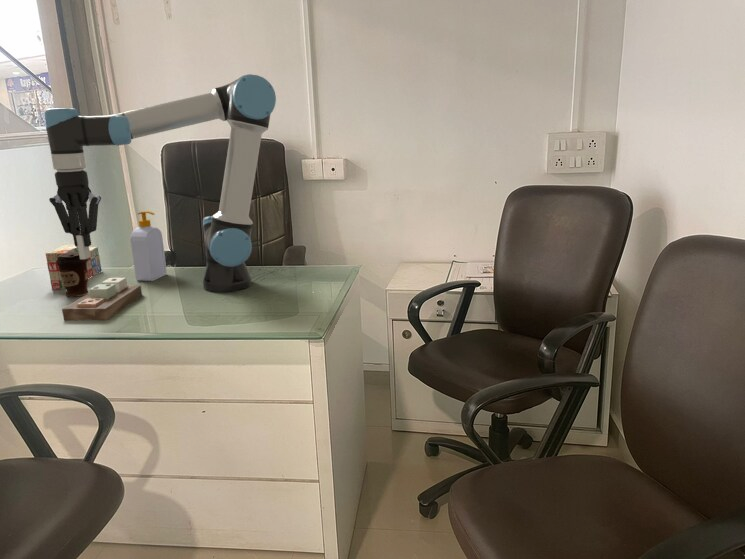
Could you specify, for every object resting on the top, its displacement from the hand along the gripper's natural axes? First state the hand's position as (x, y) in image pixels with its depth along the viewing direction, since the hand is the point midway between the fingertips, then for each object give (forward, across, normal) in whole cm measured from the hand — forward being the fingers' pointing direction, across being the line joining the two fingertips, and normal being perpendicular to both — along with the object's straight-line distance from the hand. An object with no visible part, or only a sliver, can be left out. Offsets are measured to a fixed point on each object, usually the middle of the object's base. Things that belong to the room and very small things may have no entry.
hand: (85, 258), depth 151 cm
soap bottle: (+17, -1, -37) cm, 41 cm away
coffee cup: (+16, +15, -19) cm, 29 cm away
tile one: (+13, 0, -13) cm, 19 cm away
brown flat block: (+16, 0, -6) cm, 17 cm away
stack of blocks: (+17, +24, -35) cm, 46 cm away
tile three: (+15, 0, +1) cm, 15 cm away
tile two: (+13, 0, -6) cm, 15 cm away
